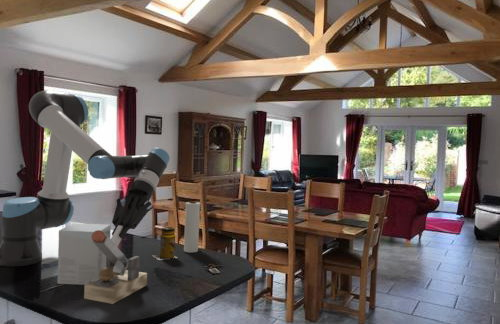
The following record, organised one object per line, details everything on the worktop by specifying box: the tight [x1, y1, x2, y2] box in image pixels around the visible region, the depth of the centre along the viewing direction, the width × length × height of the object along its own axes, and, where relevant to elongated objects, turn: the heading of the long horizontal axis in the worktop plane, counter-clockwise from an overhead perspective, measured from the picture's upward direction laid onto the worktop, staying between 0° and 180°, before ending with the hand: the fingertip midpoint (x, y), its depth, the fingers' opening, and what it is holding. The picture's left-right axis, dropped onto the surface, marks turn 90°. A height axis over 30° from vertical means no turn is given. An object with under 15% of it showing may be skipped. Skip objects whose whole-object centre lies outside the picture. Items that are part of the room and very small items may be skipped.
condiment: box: [151, 226, 178, 261], centre depth 174 cm, size 7×8×12 cm
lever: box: [92, 230, 129, 276], centre depth 128 cm, size 5×6×19 cm
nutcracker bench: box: [83, 255, 148, 305], centre depth 132 cm, size 18×10×10 cm, turn 162°
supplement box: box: [57, 222, 112, 286], centre depth 143 cm, size 13×13×18 cm
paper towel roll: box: [183, 201, 201, 254], centre depth 185 cm, size 7×6×21 cm
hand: (112, 245), depth 129 cm, fingers closed
